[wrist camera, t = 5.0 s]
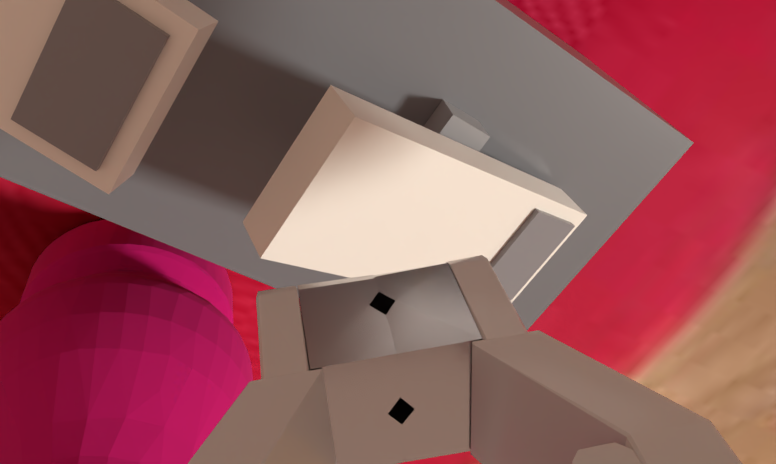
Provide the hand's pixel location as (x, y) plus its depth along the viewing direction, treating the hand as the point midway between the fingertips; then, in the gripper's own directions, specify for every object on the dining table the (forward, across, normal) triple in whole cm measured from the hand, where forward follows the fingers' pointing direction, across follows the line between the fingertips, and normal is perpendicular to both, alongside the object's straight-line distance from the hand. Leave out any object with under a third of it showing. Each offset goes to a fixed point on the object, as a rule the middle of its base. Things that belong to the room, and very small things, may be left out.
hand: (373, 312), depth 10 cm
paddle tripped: (+5, -2, +2) cm, 5 cm away
